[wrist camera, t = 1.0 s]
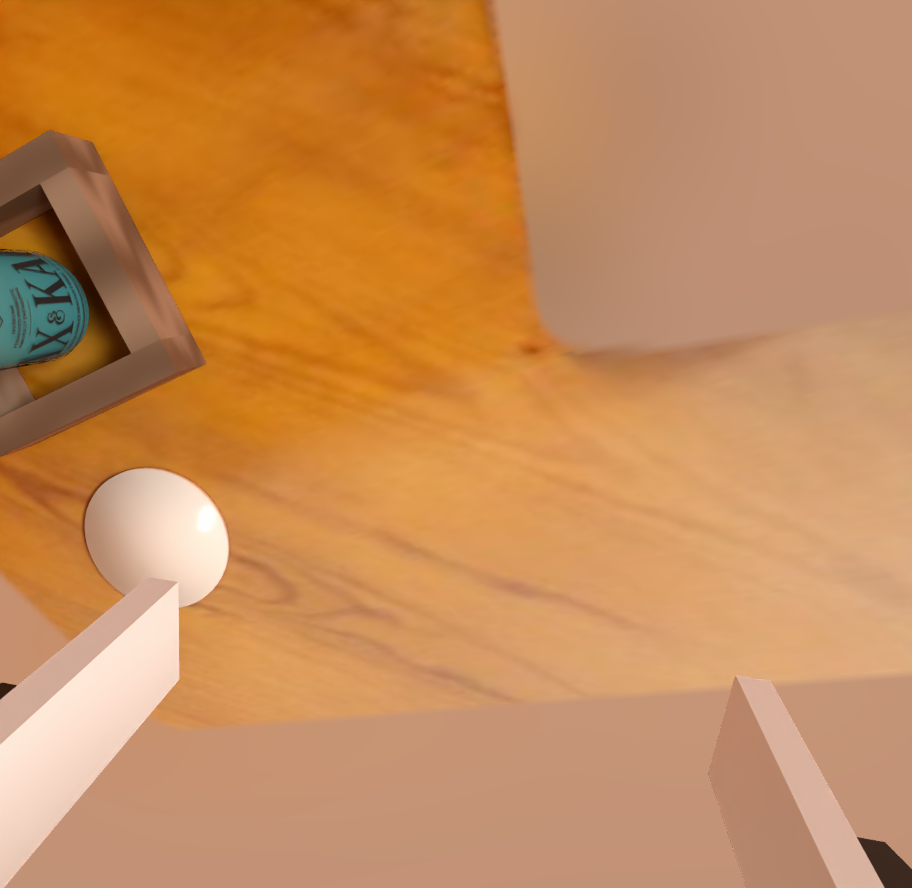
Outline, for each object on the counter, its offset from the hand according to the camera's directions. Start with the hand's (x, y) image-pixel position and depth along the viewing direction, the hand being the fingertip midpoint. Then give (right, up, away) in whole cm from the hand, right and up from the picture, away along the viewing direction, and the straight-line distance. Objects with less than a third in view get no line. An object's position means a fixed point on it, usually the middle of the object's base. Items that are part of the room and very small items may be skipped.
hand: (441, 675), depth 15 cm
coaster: (-20, -1, +29) cm, 35 cm away
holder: (-24, +14, +26) cm, 38 cm away
